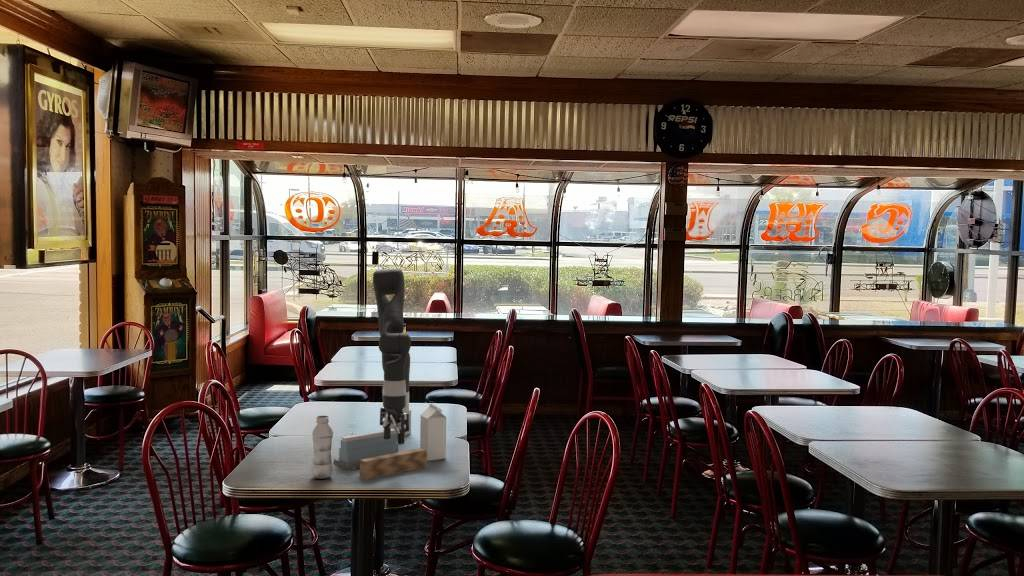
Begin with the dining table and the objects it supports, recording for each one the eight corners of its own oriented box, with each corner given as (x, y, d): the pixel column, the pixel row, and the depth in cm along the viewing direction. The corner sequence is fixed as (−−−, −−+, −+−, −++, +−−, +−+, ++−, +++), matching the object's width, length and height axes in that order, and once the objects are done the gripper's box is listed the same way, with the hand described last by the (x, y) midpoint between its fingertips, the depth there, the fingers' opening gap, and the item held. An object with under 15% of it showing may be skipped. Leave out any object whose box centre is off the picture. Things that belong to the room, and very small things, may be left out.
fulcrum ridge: (388, 452, 283) (388, 426, 283) (403, 458, 276) (404, 431, 275) (333, 463, 269) (333, 435, 268) (348, 469, 261) (348, 441, 261)
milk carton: (427, 461, 273) (427, 407, 272) (419, 456, 279) (420, 403, 278) (446, 459, 276) (446, 405, 275) (438, 454, 283) (439, 402, 281)
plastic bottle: (313, 475, 255) (313, 414, 254) (334, 474, 255) (334, 414, 254) (309, 481, 248) (309, 419, 247) (331, 481, 249) (331, 419, 248)
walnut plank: (421, 465, 269) (421, 447, 269) (426, 467, 267) (426, 449, 267) (359, 477, 254) (359, 459, 253) (364, 480, 251) (364, 461, 251)
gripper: (416, 395, 256) (415, 444, 256) (392, 388, 266) (392, 435, 267) (396, 397, 251) (395, 447, 252) (373, 391, 262) (372, 439, 262)
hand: (393, 441), depth 259 cm, fingers open, 8 cm apart
